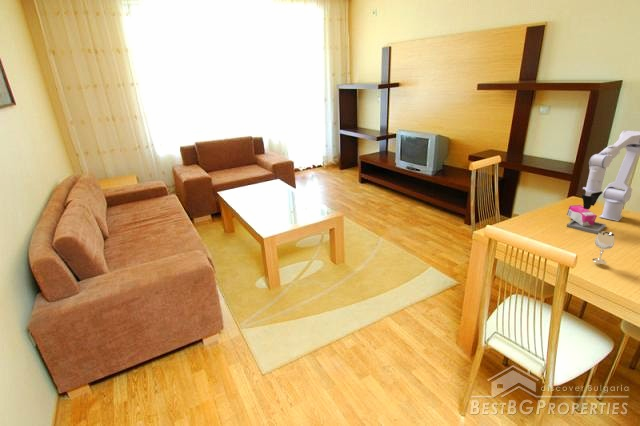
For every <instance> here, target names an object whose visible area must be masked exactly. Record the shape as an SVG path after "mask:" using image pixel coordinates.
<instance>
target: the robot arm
mask: <svg viewBox="0 0 640 426" xmlns="http://www.w3.org/2000/svg"><path fill="white" fill-rule="evenodd" d="M623 149H625V150H626V153H625V155H624V158H623V160H622V162H621V165H620V167H619V170H618V172H617V174H616V177H615V181H612V182H610V183H608V184H607V185H606V187H605V188H604V190H603V191H602V186H603V183H604V179H605V176H606V170H607V168H608V167H609V166H610V165H611V163H612V162H613V160H614V159H615V158H616V157H617V156H619V155H620V153H621V150H623ZM639 157H640V131H637V130H626V129H625V130H622V131H621V133H620V134H619V136H618V139H617V140H616V142H614V143H613V144H612V145H611V144H610V145H608V146H607V147H605V148H603V150H601V151H600V152H599V153H595V154H593V155H592V156H591V157H590V158H589V160H588V165H589V167H588V170H589V173H588V177H587V178H588V179H587V180H586V181H587V182H586V186H583V187H582V190H585V193H582V194H581V198H582V201H583V202H582V203H583V205H582V206H583V207H584V209H587V210H590V209H591V207H592V206H595V205H596V203H597V201H598V199H599V197H600V196H601V195H602V197H603V198H604V206H603V210H602V214H600V215H599V216H598V218H601V219H604V220H611V221H616V222H619V221H620V220H621V219H623V217H624V215H622V214H623V213H622V212H623V208H624V204H626V203H627V202H629V201H630V200H631V197H632V191H633V188H632V187H631V186H630V184H629V183H628V182H629V180H630V179H631V175H632V173H633V171H634V168H635V166H636V163H637V161H638V158H639ZM609 168H610V167H609Z"/></svg>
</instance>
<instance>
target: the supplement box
mask: <svg viewBox="0 0 640 426" xmlns="http://www.w3.org/2000/svg"><path fill="white" fill-rule="evenodd" d="M566 216H568V217H569V218H570V219H571V220H574V221H576V222H577V223H579V224H580V225H581V226H590V225H594V222H596V219H597V216H598V215H597V214H595V213H594V212H592V211H591V210H590V209H584V206H583V205H581V204H576V205H575V204H574V205H569V207H568V211H567V213H566Z"/></svg>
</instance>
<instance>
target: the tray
mask: <svg viewBox="0 0 640 426" xmlns="http://www.w3.org/2000/svg"><path fill="white" fill-rule="evenodd" d="M606 225H607V224H606V223H602V222H596V221H595V222H594V225H590V226H581V225H580V224H579V223H577V222H576V221H574V220H573V219H571V221H569V222H568V223H567V224H566V228H570V229H574V230H577V231H583V232H586V233H591V234H594V235H595V234H596V235H598V233H599V232H602V231H603V230H604V229H605V228H606Z"/></svg>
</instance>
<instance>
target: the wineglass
mask: <svg viewBox="0 0 640 426" xmlns="http://www.w3.org/2000/svg"><path fill="white" fill-rule="evenodd" d="M594 243H595V246H596V247H597V248H599V249H600V253H599V257H598V258H597V257H596V258H595V257H594V258H592V262H595V263H597V264H600V265H601V264H603V265H604V264H607V261H606V260H605V259H602V255H603V253H604V251H605V250H610V249H612V248H613V247H614V245H615V234H614V233H613V232H609V231H603V230H602V231H601V232H599V233H598V234H596V237H595V239H594Z"/></svg>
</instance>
